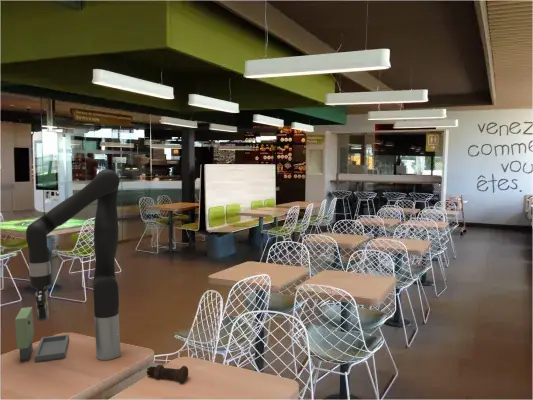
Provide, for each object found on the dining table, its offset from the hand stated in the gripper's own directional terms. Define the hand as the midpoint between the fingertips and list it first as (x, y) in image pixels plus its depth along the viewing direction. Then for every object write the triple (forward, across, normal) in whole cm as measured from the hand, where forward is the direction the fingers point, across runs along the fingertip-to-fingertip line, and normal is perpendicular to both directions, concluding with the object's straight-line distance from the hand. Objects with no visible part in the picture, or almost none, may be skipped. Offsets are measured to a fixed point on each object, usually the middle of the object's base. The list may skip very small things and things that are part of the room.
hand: (43, 316), depth 178 cm
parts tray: (+19, +12, -1) cm, 23 cm away
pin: (+1, 0, 0) cm, 1 cm away
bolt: (+20, -29, -43) cm, 55 cm away
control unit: (+19, +11, +8) cm, 23 cm away
